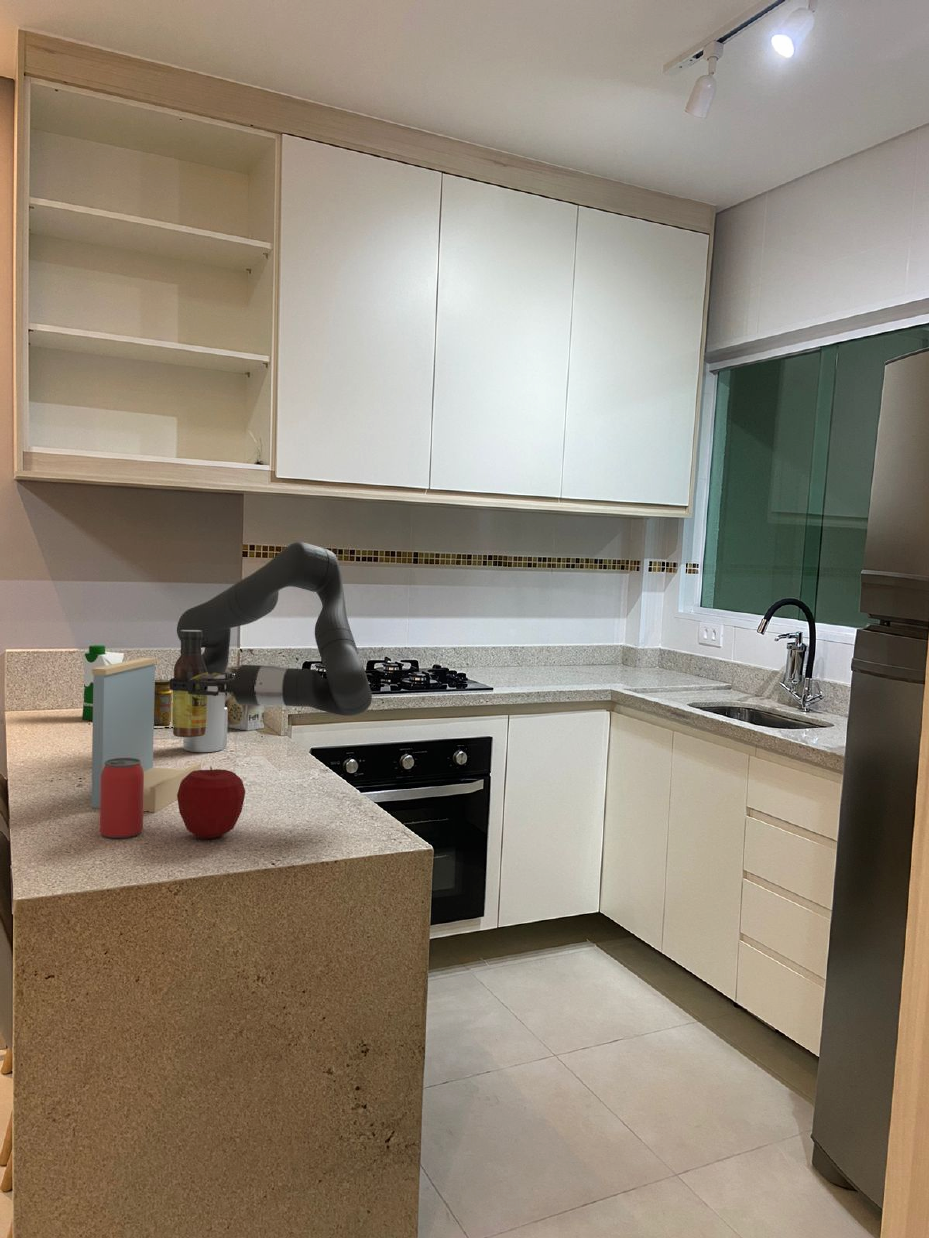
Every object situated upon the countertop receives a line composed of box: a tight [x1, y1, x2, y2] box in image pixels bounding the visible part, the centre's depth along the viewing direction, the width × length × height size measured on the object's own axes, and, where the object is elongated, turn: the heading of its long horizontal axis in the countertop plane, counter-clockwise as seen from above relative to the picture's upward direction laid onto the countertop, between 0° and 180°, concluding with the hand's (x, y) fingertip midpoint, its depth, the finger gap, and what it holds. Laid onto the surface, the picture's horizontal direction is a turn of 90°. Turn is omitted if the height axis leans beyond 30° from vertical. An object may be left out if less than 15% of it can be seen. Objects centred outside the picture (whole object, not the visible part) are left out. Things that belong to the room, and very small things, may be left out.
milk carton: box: [81, 644, 125, 722], centre depth 249 cm, size 9×9×20 cm
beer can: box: [99, 758, 144, 839], centre depth 150 cm, size 7×7×12 cm
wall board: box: [90, 657, 202, 813], centre depth 173 cm, size 20×12×25 cm, turn 173°
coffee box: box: [225, 665, 265, 732], centre depth 246 cm, size 9×6×16 cm
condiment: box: [154, 679, 173, 726], centre depth 243 cm, size 7×8×12 cm
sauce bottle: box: [171, 630, 208, 738], centre depth 173 cm, size 6×6×20 cm
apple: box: [177, 766, 246, 839], centre depth 151 cm, size 11×11×12 cm
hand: (178, 681), depth 173 cm, fingers closed on sauce bottle, 6 cm apart
